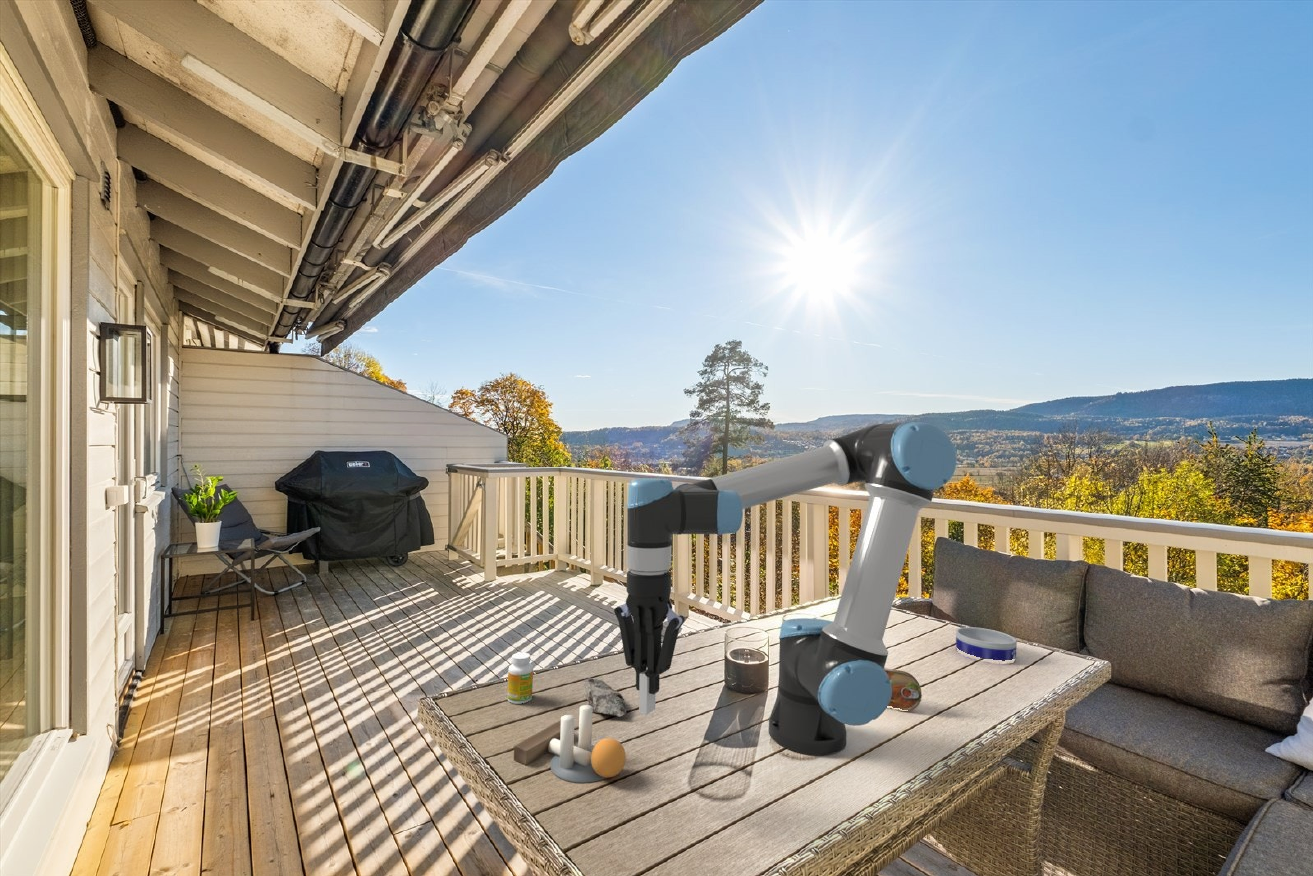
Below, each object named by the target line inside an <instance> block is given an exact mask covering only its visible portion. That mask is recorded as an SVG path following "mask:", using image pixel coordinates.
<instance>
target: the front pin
mask: <svg viewBox="0 0 1313 876" xmlns="http://www.w3.org/2000/svg"><path fill="white" fill-rule="evenodd" d="M576 746H577V745H574V758H573V762H576V763H578V764H581V765H583V766H587V765H589V764H590V763H591V754H592V752H590V751H587V750H584V749H582V748H579V747H576ZM548 751H549V752H548V753H551V754H553V755H554V756H555V755H558V756H560V740H558V739H555V738H554V739H552V740H551V741H550V743H549V746H548Z"/></svg>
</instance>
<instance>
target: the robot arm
mask: <svg viewBox="0 0 1313 876" xmlns="http://www.w3.org/2000/svg"><path fill="white" fill-rule="evenodd" d="M957 462H958V461H957V451H956V448H955V445H954V443H952V440H951V439H950V437H949V435H948V434H947V433H946V432H945V430H943V429H942V428H941V427H939V426H937V425H935V424H932V423H929V422H921V421H919V422H918V421H914V420H912V421H905V422H896V423H895V422H894V423H893V422H892V423H877V424H873V425H869V426H866V427H864V428H861V429H858V430H855V431H853V432H849V433H847V434H843V435H841V436H838V437H835V438H832V439H828V440H826V441H825V442H824V444H823V446H822V447H818V448H815V449H811V450H808V451H803V452H801V453H796V454H794V455H790V456H785V457H782V458H779V459H778V458H777V459H775V460H772V461H768V462H764V463H761V464H757V465H755V466H750V467H747V468H743V469H740V470H737V471H736V470H735V471H733V472H728V473H724V474H723V475H718V476H714V477H711V478H709V479H703V480H700V481H697V482H693V483H689V482H688V483H686V482H685V483H681V484H678V485H676V486H675V487H673V482H672V480H671V479H668V478H661V477H659V478H658V477H657V478H656V477H655V478H654V477H643V478H641V477H639V478H633V479H632V480H631V481H630V482H629V484H628V493H627V495H628V496H627V504H626V508H627V513H626V514H627V518H626V520H627V525H626V527H627V530H626V531H627V535H626V537H627V538H626V539H627V541H626V568H627V569H628V571H627V572H626V592H627V597H626V600H625V603H624V604H622V605H619V606H617V607H615V608H614V610H613V613H614V616H615V617H616V619H617V621H618V625H619V630H620V638H621V642H622V648H623V655H624V659H625V664H626V665H627V666H628V667H632V668H633V669H634V671H635V689H636V690H637V691H638V694H639V696H638V697H639V699H638V700H639V701H638V702H639V703H638V707H639V708H638V714H642V715H644V716H648V715H649V714H651V713H652V712H653V711H655V710H656V694H657V693H658V692H659V691H660V678H661V677H660V675H662V674H663V673H665V672H667V671H669V670H670V668H671V666H672V661H673V658H674V652H675V649H676V643H677V639H678V635H679V631H680V628H681V627H682V626H683V624H684V622H685V621H686V619H685V617H684V615H678V614H677V613H676V612H674V610H673V604H672V601H671V599H670V597H671V592H672V573H671V572H670V569H671V568H672V545H673V544H672V539H673V538H672V537H673V535H718V536H722V535H727V534H735V533H737V532H738V531H739V530H740V528H741V526H742V523H743V516H744V514H743V513H744V511H743V510H745V509H747V508H752V507H755V506H758V505H762V504H765V503H766V504H767V503H769V502H773V501H776V500H779V499H783V498H786V497H790V496H793V495H797V494H799V493H803V492H808V491H810V490H814V489H817V488H822V487H824V486H828V485H831V484H836V485H837V486H840V487H842V486H846V485H850V484H853V483H864V488H865V489H866V491H867V493H868V495H869V498H868V502H867V505H866V509H865V512H864V515H863V516H864V517H863V520H862V523H861V526H860V530H859V534H858V536H857V540H856V544H855V548H854V550H853V553H852V557H851V560H850V564H849V568H848V571H847V574H846V577H845V580H844V581H845V582H844V585H843V588H842V591H841V595H840V599H839V602H838V606H837V609H836V613H835V616H834V620H833V621H832V620H828V619H819V618H807V617H806V618H803V617H802V618H790V619H787V620H784V621H783V622H782V624H781V625H780V633H779V637H778V640H779V652H778V653H779V658H778V659H779V660H778V663H779V664H778V691H777V692H778V693H777V697H776V699H775V702H774V704H773V706H772V710H771V712H770V715H769V719H768V734H769V736H770V738H771V740H772V741H774V742H775V743H776V744H778V745H780V746H781V747H783V748H785V749H787V750H790V751H792V752H797V753H801V754H805V755H810V756H811V755H812V756H825V755H826V756H827V755H834V754H836V753H839V752H841V751H842V750H843V749H845V747H846V745H847V732H848V731H847V728H846V725H848V726H853V727H854V726H857V727H858V726H863V725H867V724H869V723H870V722H871V721H873V720H874V721H875V720H877V719H878V718H879V717H880V716H881V715H882V714H883V713H884V712H885V711H886V709H887V706H888V704H889V702H890V699H891V694H892V687H891V682H890V681H889V677H888V675H887V673H886V672H885V671H884V668H886V667H885V666H886V663H887V659H888V655H889V651H888V649H887V646H886V644H885V643H884V641H883V638H884V636H885V633H886V629H887V628H886V627H887V625H888V622H889V618H890V614H891V611H892V607H893V603H894V600H895V598H896V593H897V590H898V586H899V582H900V579H901V576H902V572H903V569H904V565H905V561H906V558H907V555H908V552H909V551H908V550H909V547H910V545H911V542H912V541H911V540H912V537H913V534H914V530H915V526H916V522H917V519H918V517H919V513H920V511H921V510H922V509H924V508H925V507H927V506H929V505H931V504H932V501H933V498H934V494H935V491H936V490H937V489H938V488H939V489H940V488H941V487H943V486H944V485H945V484H946V483H947V484H948V482H950V480H951V479H952V478H953V476H954V474H955V471H956V469H957ZM666 619H667V620H666ZM665 621H666V623H665V625H666V626H667V627H666V628H665V632H664V634H663V639H662V632H663V630H664V622H665Z"/></svg>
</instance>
